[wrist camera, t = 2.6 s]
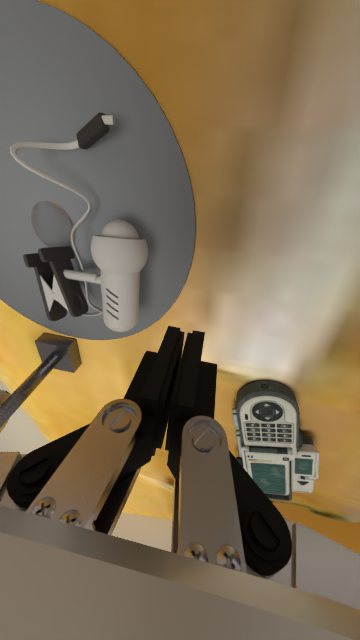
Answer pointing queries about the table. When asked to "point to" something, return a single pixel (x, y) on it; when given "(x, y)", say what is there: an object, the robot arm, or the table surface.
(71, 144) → the clip-on lamp
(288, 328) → the table surface
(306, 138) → the table surface
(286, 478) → the communication device
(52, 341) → the square-base wall hook
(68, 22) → the mat
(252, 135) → the table surface
